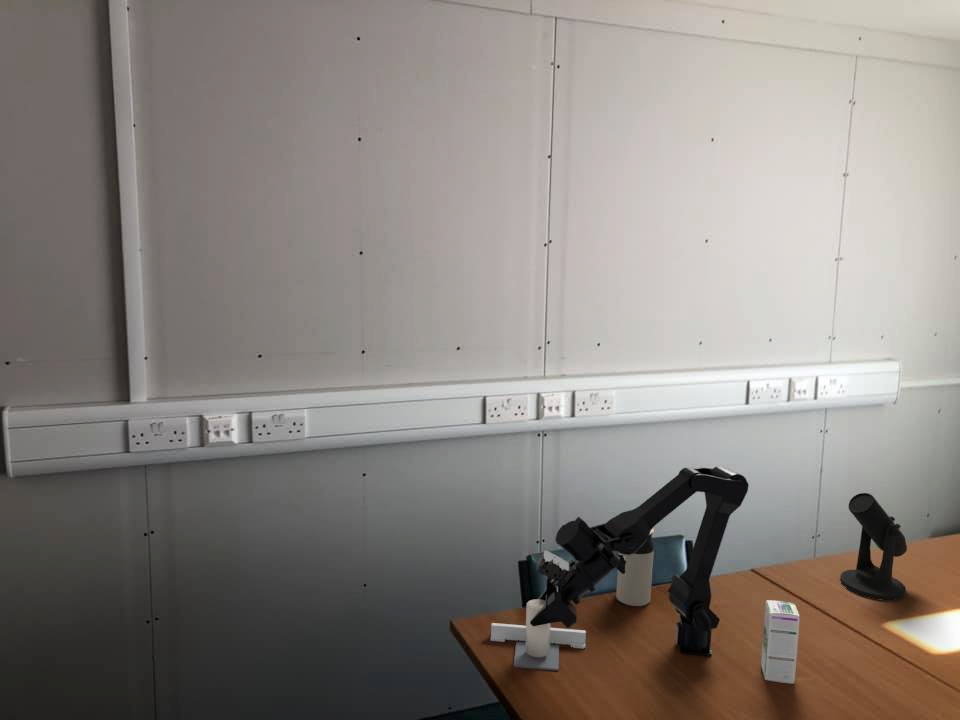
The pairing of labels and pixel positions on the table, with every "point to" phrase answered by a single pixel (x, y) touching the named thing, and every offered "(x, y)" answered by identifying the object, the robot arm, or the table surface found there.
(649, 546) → the travel mug
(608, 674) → the table surface
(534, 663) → the slate mat
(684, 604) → the robot arm
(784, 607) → the syrup box
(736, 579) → the table surface
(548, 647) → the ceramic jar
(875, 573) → the microphone
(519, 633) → the light grey long bar
